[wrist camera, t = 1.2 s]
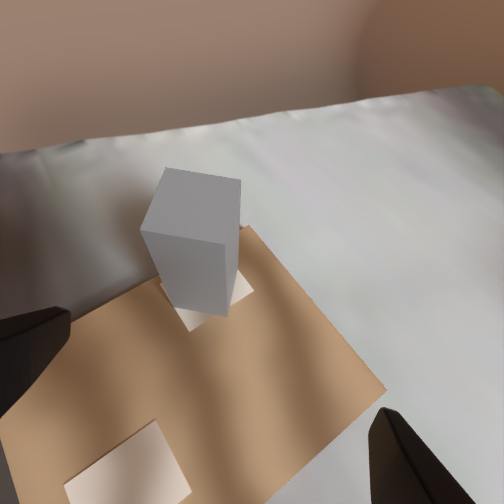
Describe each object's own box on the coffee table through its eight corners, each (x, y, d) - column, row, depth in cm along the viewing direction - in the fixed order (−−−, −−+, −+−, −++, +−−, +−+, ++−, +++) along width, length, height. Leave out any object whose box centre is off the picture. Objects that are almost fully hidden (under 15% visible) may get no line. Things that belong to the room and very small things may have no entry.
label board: (83, 663, 16) (71, 681, 14) (-8, 376, 22) (-21, 372, 21) (380, 392, 23) (387, 390, 21) (248, 232, 29) (248, 224, 28)
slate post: (227, 317, 23) (225, 244, 15) (173, 307, 23) (139, 229, 15) (237, 268, 25) (240, 179, 17) (188, 259, 25) (165, 167, 17)
